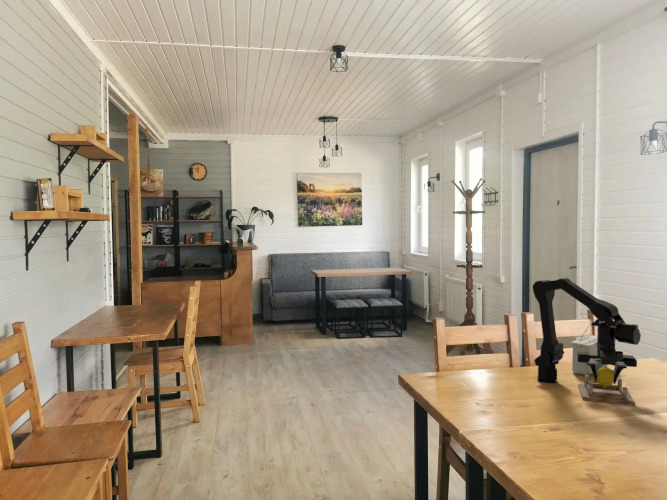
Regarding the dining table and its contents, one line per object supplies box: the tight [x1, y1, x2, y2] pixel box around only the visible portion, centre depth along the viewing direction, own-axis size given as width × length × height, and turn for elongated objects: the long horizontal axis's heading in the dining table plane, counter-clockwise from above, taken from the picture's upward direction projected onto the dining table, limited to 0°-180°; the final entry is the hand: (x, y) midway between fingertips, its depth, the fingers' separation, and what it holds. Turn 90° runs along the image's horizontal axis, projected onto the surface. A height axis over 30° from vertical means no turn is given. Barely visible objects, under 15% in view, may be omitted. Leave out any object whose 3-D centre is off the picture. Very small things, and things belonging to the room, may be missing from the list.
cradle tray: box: [577, 375, 636, 406], centre depth 183 cm, size 16×16×5 cm
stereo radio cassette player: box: [570, 319, 609, 376], centre depth 214 cm, size 21×8×20 cm, turn 132°
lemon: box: [596, 366, 614, 388], centre depth 183 cm, size 6×6×8 cm
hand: (605, 382), depth 183 cm, fingers closed on lemon, 5 cm apart
